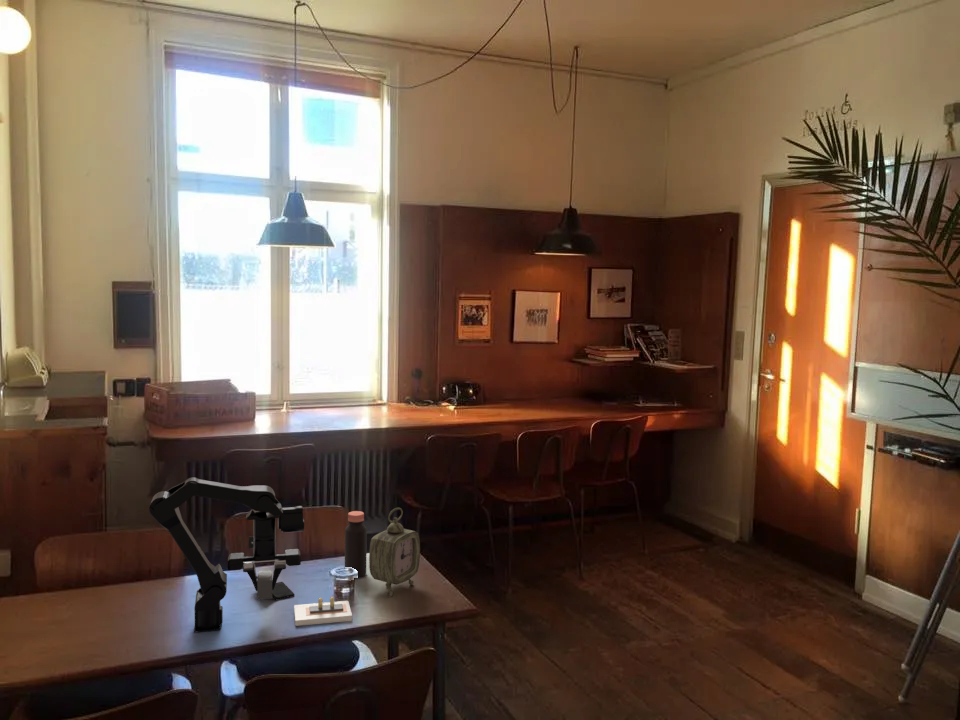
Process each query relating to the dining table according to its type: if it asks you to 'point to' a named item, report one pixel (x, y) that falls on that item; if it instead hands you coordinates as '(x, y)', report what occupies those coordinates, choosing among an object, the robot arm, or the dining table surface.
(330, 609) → the header board
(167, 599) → the dining table surface
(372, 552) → the tabletop clock
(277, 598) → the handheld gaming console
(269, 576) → the connector housing
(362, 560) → the bottle
